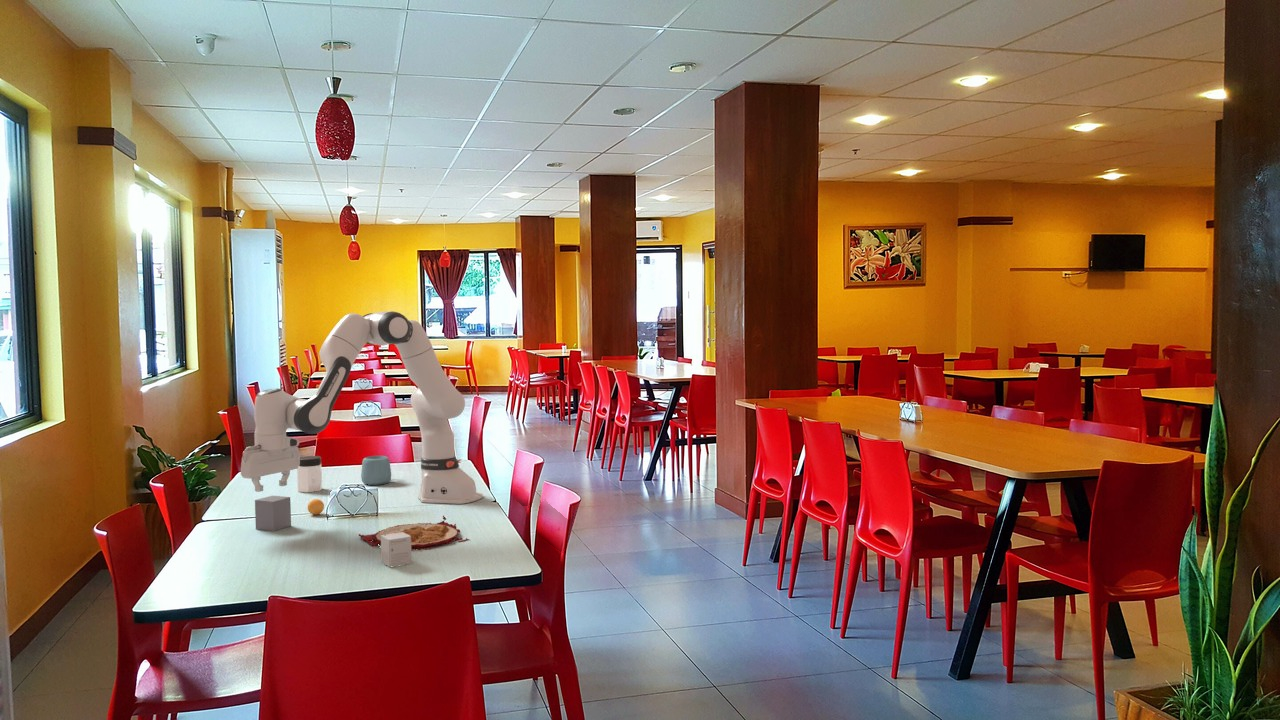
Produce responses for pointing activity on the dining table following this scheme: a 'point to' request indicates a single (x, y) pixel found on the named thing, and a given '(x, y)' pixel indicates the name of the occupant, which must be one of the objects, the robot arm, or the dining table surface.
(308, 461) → the jar
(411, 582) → the dining table surface
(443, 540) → the plate with food
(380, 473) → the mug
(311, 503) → the ball
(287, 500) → the gray block
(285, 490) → the dining table surface
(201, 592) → the dining table surface
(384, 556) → the product box
